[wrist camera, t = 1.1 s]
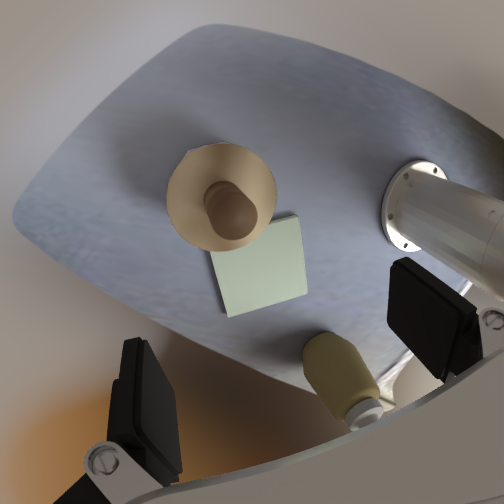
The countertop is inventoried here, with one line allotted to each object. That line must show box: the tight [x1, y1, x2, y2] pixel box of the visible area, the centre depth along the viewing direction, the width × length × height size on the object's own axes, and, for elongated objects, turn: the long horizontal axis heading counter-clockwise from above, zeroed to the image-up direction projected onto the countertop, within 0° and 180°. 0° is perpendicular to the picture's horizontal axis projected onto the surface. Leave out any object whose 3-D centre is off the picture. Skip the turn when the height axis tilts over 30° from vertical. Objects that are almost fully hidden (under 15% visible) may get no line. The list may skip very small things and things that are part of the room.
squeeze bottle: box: [302, 332, 384, 431], centre depth 35 cm, size 8×8×18 cm
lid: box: [166, 143, 277, 252], centre depth 23 cm, size 9×9×6 cm
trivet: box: [210, 215, 308, 318], centre depth 35 cm, size 10×10×1 cm
